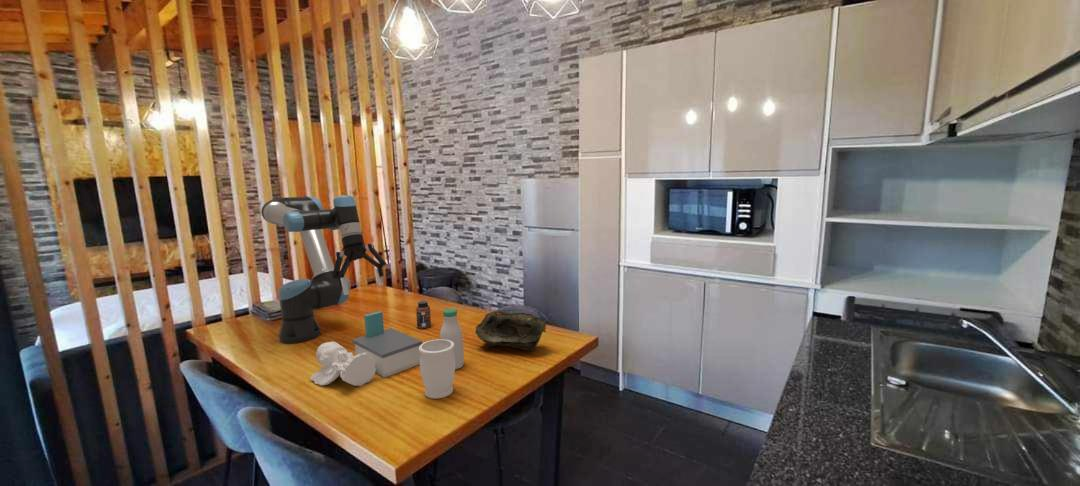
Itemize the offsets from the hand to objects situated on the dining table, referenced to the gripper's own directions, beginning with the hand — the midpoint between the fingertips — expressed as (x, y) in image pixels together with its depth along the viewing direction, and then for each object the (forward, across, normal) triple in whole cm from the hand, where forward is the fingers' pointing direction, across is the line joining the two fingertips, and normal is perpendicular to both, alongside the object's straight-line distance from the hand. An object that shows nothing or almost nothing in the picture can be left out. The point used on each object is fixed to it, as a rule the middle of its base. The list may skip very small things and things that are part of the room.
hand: (364, 290), depth 161 cm
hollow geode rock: (+36, +48, +5) cm, 60 cm away
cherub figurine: (+28, -4, -20) cm, 35 cm away
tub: (+28, +6, -7) cm, 29 cm away
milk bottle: (+34, +29, -10) cm, 46 cm away
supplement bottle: (+20, +10, +28) cm, 36 cm away
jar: (+38, +28, -28) cm, 55 cm away
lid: (+21, +8, -9) cm, 24 cm away
